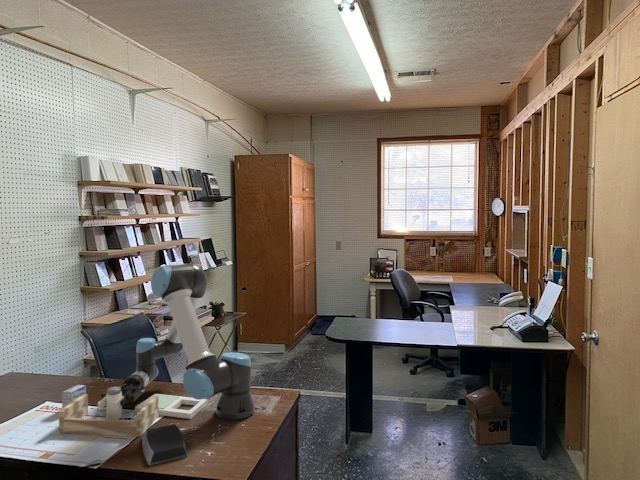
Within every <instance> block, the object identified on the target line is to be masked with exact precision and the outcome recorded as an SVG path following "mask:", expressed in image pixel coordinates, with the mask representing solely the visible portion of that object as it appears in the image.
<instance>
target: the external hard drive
mask: <svg viewBox="0 0 640 480" xmlns="http://www.w3.org/2000/svg"><path fill="white" fill-rule="evenodd" d="M141 444H142V445H141V446H142V453H143V455H144V458H145V460H146V463H147V465H148V466H154V465H156V464H157V465H158V464H162V463H167V462H171V461H175V460H180V459H184V458H187V457H188V450H187V446H186V442H185V439H184V436H183V434H182V431H181V430H180V427H178V426H177V425H176V424H175V423H172V424H168V425H161V426H156V427H151V428H148V429H146V430H145V432H144V433H143V434H142V438H141Z"/></svg>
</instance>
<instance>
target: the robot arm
mask: <svg viewBox="0 0 640 480" xmlns="http://www.w3.org/2000/svg"><path fill="white" fill-rule="evenodd" d="M207 278H208V277H207V275H206V273H205V271H204V270H203V269H202V268H201V267H200V266H199V265H197V264H193V263H187V264H185V263H183V264H174V265H173V264H171V265H170V264H169V265H168V264H167V265H164V266H163V265H160V266H158V267H157V268H156V269H154V271H153V273H152V276H151V282H150V287H151V291H152V293H153V295H155V296H156V297H161V300H162V302H163V304H166V305H167V306H168V308H169V310H170V311H169V312H170V314H171V316H172V321H171V323H170V327H169V329H168V332H167V334H166V337H165V339H164V338H163V339H161V340H156V339H155V338H153V337H142V338H140V339H138V341H137V342H136V347H135V348H136V349H135V352H136V354H135V355H136V365H135V366H136V368H135V369H136V371H135V372H133V373H132V374H131V375H130V376H128V377H127V378H126V379H125V380H124V381H123V382H122V384H120V385H119V386H118V387H121V391H122V397H121V398H120V399H118V400H117V401H116V402H115V403H114V411H116V410H117V409H118V408H120V407H121V406H122V407H123V406H124V405H125V404H126V403H127V404H128V403H129V402H130V403H134V402H135V401H136V400H137V399H138V398H140V396H141V395H143V394H145V392H146V391H145V390H146V389H145V387H147V386H148V385H149V384H150V383H152V382H153V381H154V380H155V379H156V378H157V377H158V375H159V368H158V366H157V365H156V360H157V359H162V358H164V357H165V358H166V357H169V356H174V355H178V354H180V353H183V352H184V353H185V354H184V355H185V357H186V360H187V362H186V365H185V372H184V373H183V377H182V378H183V380H182V382H183V387H184V389H185V391H186V393H187V394H188V395H189V396H190V398H194V399H198V400H200V399H208V398H209V399H210V398H211V397H213V396H215V395H218V394H220V395H219V397H218V400H217V403H216V406H215V414H216V416H217V417H218V418H220V419H223V420H228V421H229V420H230V421H238V419H239V420H243V418H244V419H246V417H247V418H249V417H251V416H252V415H254V413H255V412H254V411H256V405H255V401H254V397H253V395H252V393H251V391H252V389H251V387H252V386H251V385H252V384H251V383H252V361H251V360H252V359H251V357H250V356H249V355H248V354H245V353H242V352H232V351H231V352H224V353H222V354H221V356H220V360H218V358H217V356H216V354H215V353H212V352H211V351H210V349H209V345H208V342H207V341H206V337H205V334H204V332H203V330H202V327H201V324H200V321H199V318H198V316H197V313H196V310H197V308H198V305H199V302H200V301H201V300H200V299H202V298H203V297H204V296H205V293H206V291H207V288H208V279H207ZM111 387H117V386H115V384H114V385H111V386H110V388H111ZM106 394H107V390H106V391H104V392H103V393H101V394H100V400H99V401H98V402H97V411H100V410H102V409H103V408H104V407H106ZM251 414H252V415H251ZM250 415H251V416H250ZM248 416H249V417H248Z"/></svg>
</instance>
